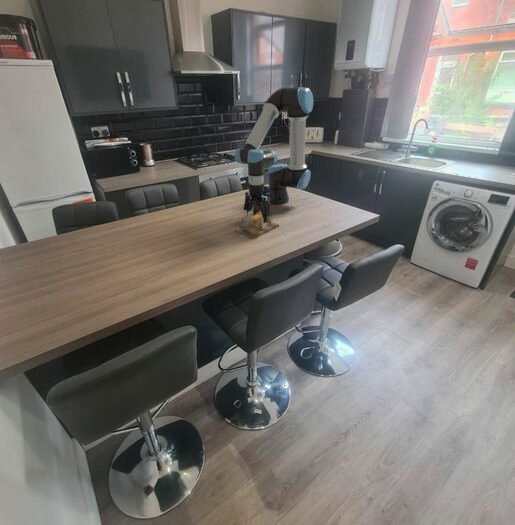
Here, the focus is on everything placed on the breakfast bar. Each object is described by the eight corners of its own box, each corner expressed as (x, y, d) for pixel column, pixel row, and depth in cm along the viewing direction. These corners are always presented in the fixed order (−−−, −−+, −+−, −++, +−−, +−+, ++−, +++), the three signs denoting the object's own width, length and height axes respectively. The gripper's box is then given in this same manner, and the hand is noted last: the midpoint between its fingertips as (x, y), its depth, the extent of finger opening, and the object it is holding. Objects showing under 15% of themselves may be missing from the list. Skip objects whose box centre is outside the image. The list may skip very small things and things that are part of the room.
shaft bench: (259, 219, 166) (259, 207, 163) (278, 226, 158) (279, 213, 155) (234, 231, 154) (233, 218, 150) (253, 238, 146) (253, 225, 142)
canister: (260, 211, 177) (260, 182, 168) (273, 215, 172) (273, 185, 163) (250, 216, 171) (249, 186, 162) (262, 220, 166) (262, 189, 156)
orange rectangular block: (257, 224, 158) (257, 214, 155) (262, 226, 156) (262, 215, 153) (251, 227, 155) (250, 216, 152) (256, 229, 153) (256, 218, 150)
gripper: (235, 181, 147) (237, 222, 159) (268, 189, 135) (268, 233, 146) (245, 178, 152) (247, 218, 164) (278, 185, 139) (277, 228, 151)
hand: (257, 225), depth 155 cm, fingers open, 9 cm apart
